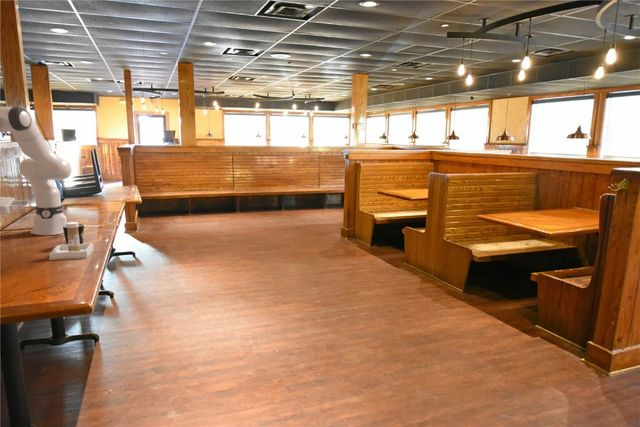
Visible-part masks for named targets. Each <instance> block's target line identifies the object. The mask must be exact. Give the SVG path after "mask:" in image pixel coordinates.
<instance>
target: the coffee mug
mask: <svg viewBox="0 0 640 427" xmlns="http://www.w3.org/2000/svg"><path fill="white" fill-rule="evenodd" d="M84 229H85V224H83V223H78V232H79V243H80V244H84V233H85V232H84ZM63 230H64V233H63V234H64V235H63V236H64V239H65V245H66V244H68V234H67V227H66V225H64V226H63Z"/></svg>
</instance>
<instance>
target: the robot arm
mask: <svg viewBox="0 0 640 427" xmlns="http://www.w3.org/2000/svg"><path fill="white" fill-rule="evenodd" d="M7 132H8V133H9V132H11V133H12V135H13V138H14V139H15V141H16V143H17V145H18V146H19V147H18V148H20V150H21V152H22V153H23V154H24V155H25V156H27V157H29V158H24V159H23V160H22V161H20V163H19V167H18V169H19V172H20V175H22V176H23V177H24V178H25V179H26V180H27V181H28V183H30V185H31V188H32V190H33V193H34V199H35V200H34V201H35V209H34V211H35V215H34V216H33V217H32V227H33V228H32V230H30V234H33V235H36V236H54V235H61V234H64V230H63V226H64V225H66V223H68V220H67V216H66V215H65V213H64V208H63V204H62V200H61V199H62V198H61V197H62V196H61V191H60V190H59V189H58V188H57V187H55V186H54V184H53V183H52V181H61V180H65V179H68V178H69V177H70V176H71V173H72V166H71V164H70V163H69V162H68V161H67V160H65V159H63V158H62V157H60V156H59V155H58V154H57V153H56V152H54V151H53V150H52V148H51V147H50V146H49V145H48V143H47V141H46V140H45V138H44V135H43V134H42V133H41V131H40V128H39V126H38V125H37V124H36V122H35V121H34V119H33V118H32V116H31V115H30V113H29V111H27V110H26V109H25V108H23V107H18V106H13V107H12V106H0V133H7ZM27 205H28V200H27V199H26V200H19V199H15V197H12V196H7V197H6V196H0V216H3V215H9V214H10V213H11V212H14V211H18V210H24V209H25V206H27Z"/></svg>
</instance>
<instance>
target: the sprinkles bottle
mask: <svg viewBox="0 0 640 427" xmlns="http://www.w3.org/2000/svg"><path fill="white" fill-rule="evenodd" d="M78 224H79V222H77V221H70V222H68V221H67V223H66V227H67V234H68V248H69V252H71V251H80V246H79V245H80V243H79V232H78Z"/></svg>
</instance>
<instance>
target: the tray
mask: <svg viewBox="0 0 640 427" xmlns="http://www.w3.org/2000/svg"><path fill="white" fill-rule="evenodd" d="M79 246H80V251H71V252H69V248H68V244H66V243H65V244H58V245H56V246H55V247H54V248H53V249H51V251H50V252H48V254H49V256H48V257H49V261H56V260H58V261H59V260H60V261H61V260H74V259H78V260H79V259H88V258H89V256H90V255H91V253H93V251H94V243H89V242H88V243H83V244H80V245H79Z"/></svg>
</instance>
